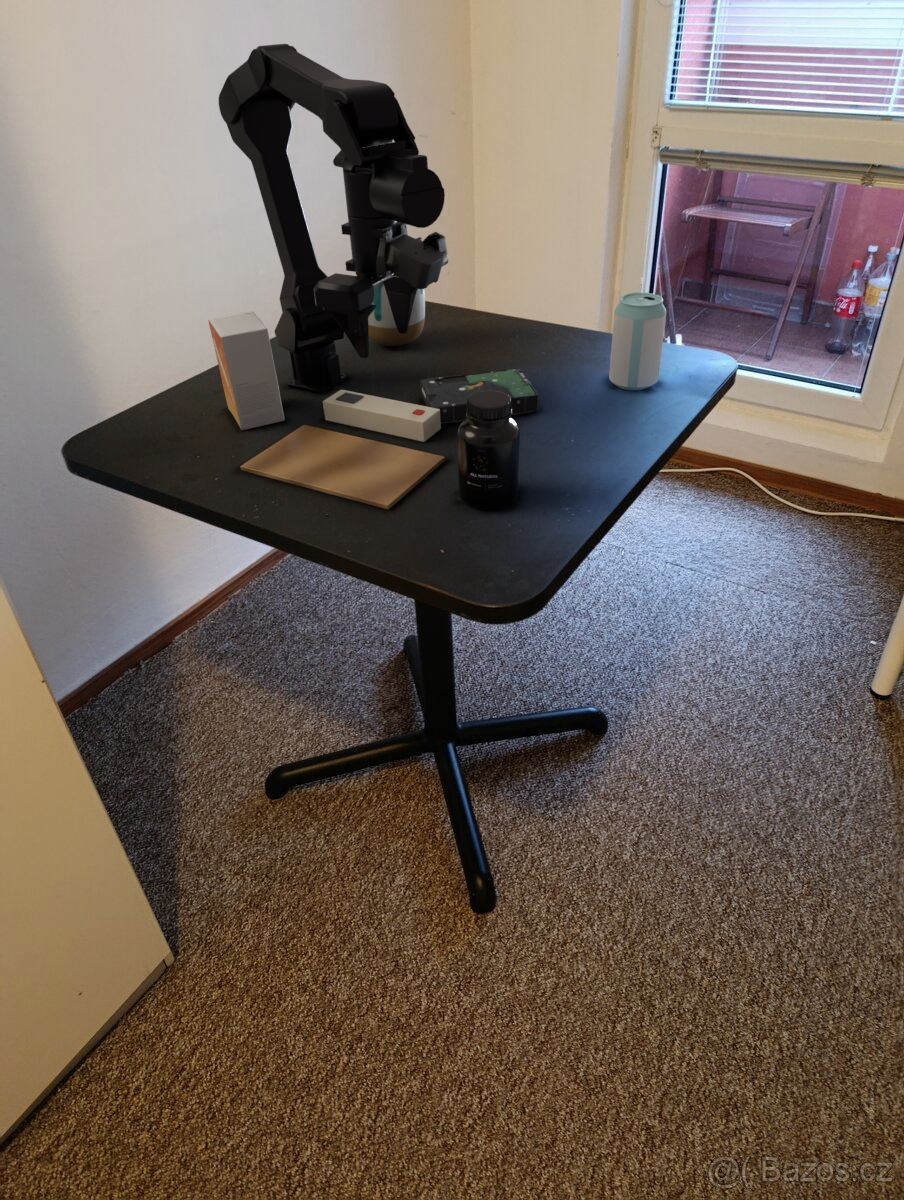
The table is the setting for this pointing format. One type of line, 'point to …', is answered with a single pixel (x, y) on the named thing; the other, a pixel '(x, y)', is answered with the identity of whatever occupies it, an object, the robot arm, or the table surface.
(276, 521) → the table surface
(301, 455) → the cork mat
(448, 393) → the disk drive
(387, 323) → the vase
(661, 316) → the can
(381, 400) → the remote
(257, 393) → the small box
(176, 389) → the table surface
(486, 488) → the supplement bottle
